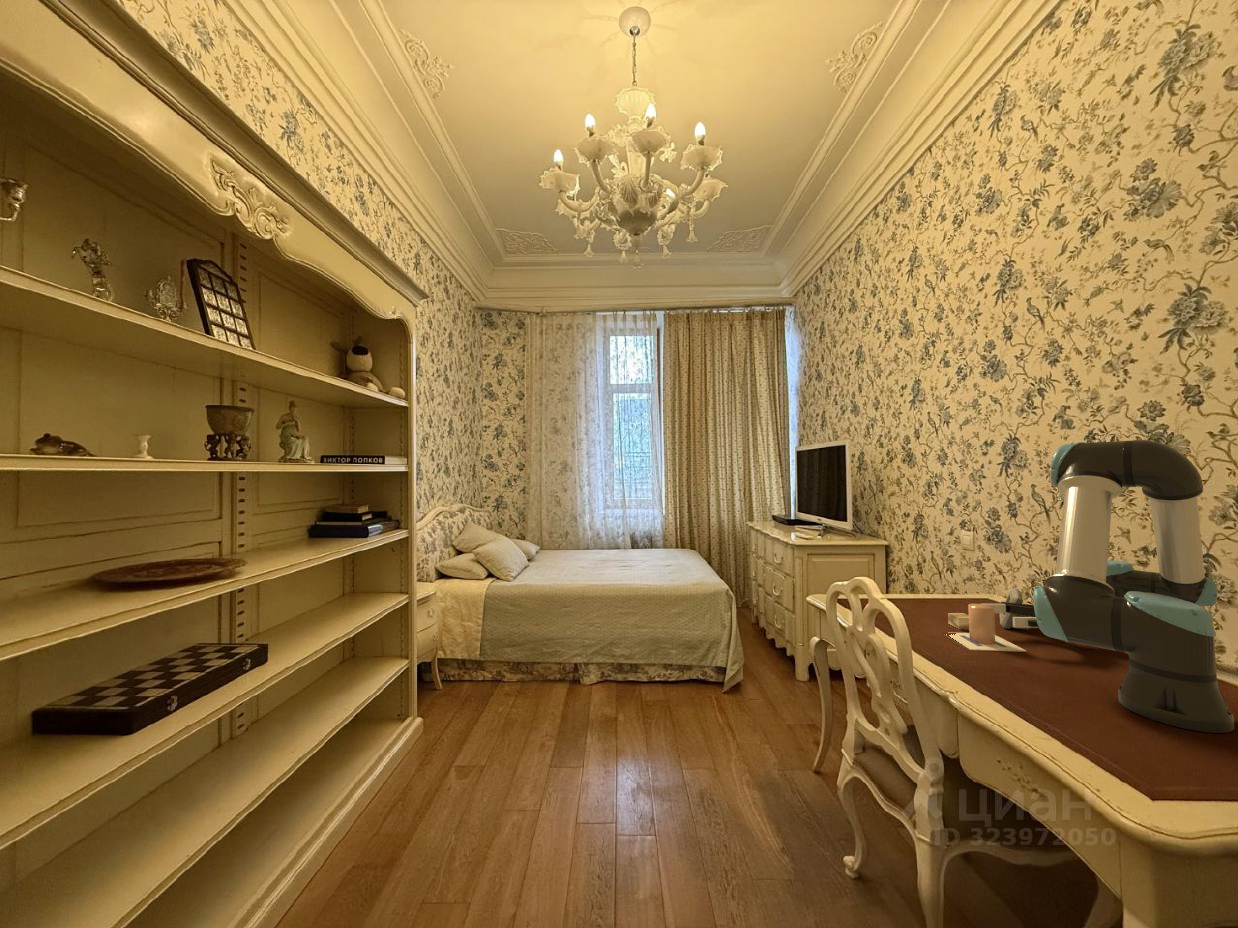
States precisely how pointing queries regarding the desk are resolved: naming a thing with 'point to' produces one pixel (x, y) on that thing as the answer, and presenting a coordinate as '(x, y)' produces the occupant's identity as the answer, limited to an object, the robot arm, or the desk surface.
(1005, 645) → the letter card
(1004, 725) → the desk surface
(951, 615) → the ash block
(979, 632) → the terracotta canister
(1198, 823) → the desk surface
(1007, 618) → the digital clock
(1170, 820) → the desk surface
